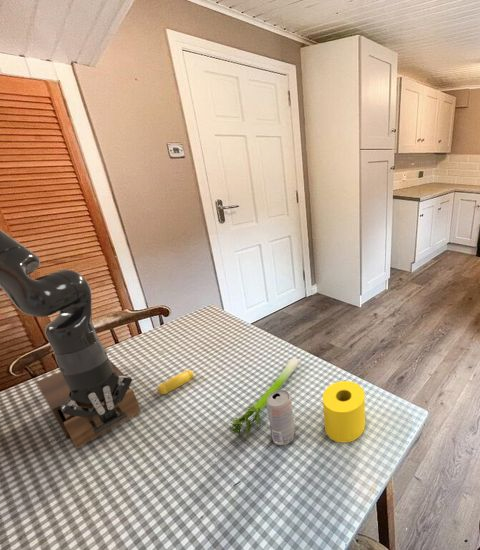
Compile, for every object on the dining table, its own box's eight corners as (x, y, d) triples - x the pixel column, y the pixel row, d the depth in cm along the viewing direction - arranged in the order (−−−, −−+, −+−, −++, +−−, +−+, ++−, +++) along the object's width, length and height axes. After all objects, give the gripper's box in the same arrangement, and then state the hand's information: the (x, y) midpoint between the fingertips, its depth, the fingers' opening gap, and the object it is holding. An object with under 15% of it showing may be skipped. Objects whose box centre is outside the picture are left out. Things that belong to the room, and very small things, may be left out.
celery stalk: (305, 370, 97) (251, 446, 69) (285, 369, 99) (225, 444, 71) (302, 353, 95) (245, 424, 68) (282, 353, 97) (219, 422, 69)
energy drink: (288, 423, 76) (282, 385, 72) (299, 436, 72) (295, 397, 68) (268, 436, 73) (261, 397, 68) (279, 450, 69) (273, 411, 64)
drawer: (149, 420, 76) (140, 398, 73) (83, 459, 66) (70, 435, 64) (120, 388, 86) (112, 367, 84) (59, 418, 77) (48, 396, 74)
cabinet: (134, 401, 83) (124, 375, 79) (66, 438, 72) (51, 409, 69) (114, 379, 91) (104, 354, 88) (50, 408, 81) (36, 381, 77)
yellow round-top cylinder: (162, 398, 84) (159, 390, 83) (156, 392, 86) (154, 384, 84) (196, 379, 91) (194, 371, 90) (191, 374, 93) (189, 366, 92)
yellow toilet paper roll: (317, 434, 73) (314, 404, 69) (336, 404, 82) (334, 376, 78) (355, 448, 69) (354, 417, 66) (370, 415, 78) (370, 386, 75)
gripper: (115, 341, 72) (136, 397, 78) (37, 372, 62) (69, 433, 68) (127, 352, 68) (149, 410, 74) (46, 387, 58) (79, 451, 64)
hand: (110, 421), depth 71 cm, fingers closed
